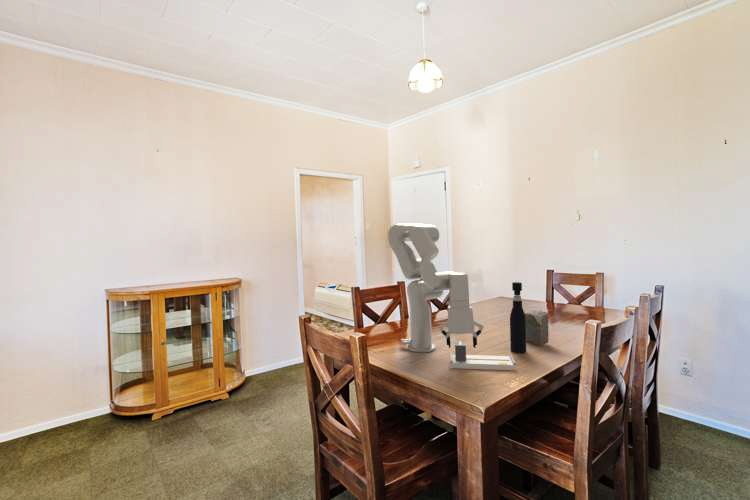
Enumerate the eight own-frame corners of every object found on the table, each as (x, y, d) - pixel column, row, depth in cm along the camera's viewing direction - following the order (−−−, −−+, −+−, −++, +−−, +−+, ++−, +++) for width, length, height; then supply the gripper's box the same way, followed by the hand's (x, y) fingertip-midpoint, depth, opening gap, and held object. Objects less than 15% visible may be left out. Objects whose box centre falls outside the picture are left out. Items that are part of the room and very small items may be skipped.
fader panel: (450, 367, 140) (450, 360, 140) (450, 359, 150) (450, 352, 150) (515, 370, 135) (515, 363, 135) (511, 361, 145) (511, 354, 145)
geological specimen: (521, 340, 172) (520, 309, 171) (530, 338, 174) (530, 308, 174) (540, 346, 162) (539, 313, 162) (549, 344, 165) (549, 312, 164)
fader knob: (455, 360, 141) (455, 345, 141) (455, 355, 147) (455, 340, 147) (466, 360, 141) (465, 345, 140) (465, 355, 146) (465, 341, 146)
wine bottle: (527, 354, 153) (526, 283, 152) (511, 353, 154) (510, 283, 153) (524, 349, 159) (523, 281, 158) (509, 348, 160) (507, 282, 159)
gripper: (437, 306, 141) (439, 349, 141) (483, 305, 137) (485, 349, 138) (437, 302, 148) (440, 344, 148) (481, 302, 145) (483, 344, 145)
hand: (461, 346), depth 143 cm, fingers open, 9 cm apart
